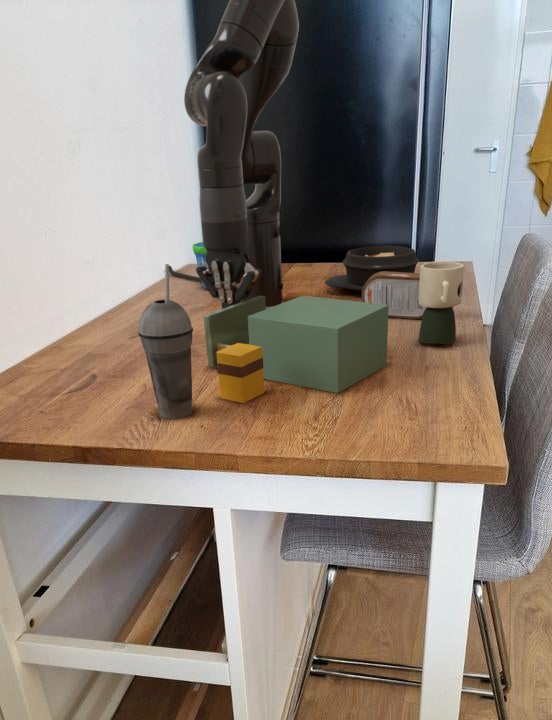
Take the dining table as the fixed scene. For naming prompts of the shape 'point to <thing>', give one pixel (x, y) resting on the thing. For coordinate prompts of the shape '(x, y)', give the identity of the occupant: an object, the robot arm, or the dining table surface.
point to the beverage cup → (168, 353)
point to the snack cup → (200, 255)
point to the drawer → (229, 326)
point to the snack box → (240, 372)
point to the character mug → (439, 300)
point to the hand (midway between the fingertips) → (232, 323)
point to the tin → (395, 293)
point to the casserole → (373, 265)
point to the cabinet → (321, 341)
